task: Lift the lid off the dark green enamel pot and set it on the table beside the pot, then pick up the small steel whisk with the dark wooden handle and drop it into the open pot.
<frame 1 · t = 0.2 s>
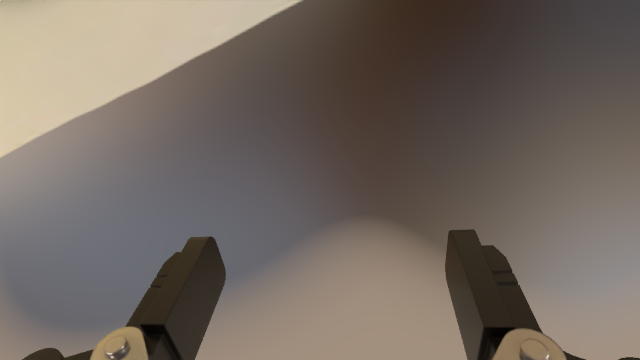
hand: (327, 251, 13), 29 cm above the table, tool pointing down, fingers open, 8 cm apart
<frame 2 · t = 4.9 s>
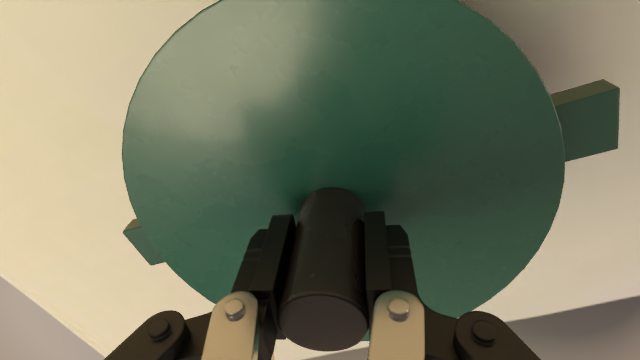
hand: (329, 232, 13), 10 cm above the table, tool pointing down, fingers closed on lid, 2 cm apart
pot: (340, 121, 22), on the table
lid: (333, 206, 15), point 9 cm above the table, touching gripper, pot
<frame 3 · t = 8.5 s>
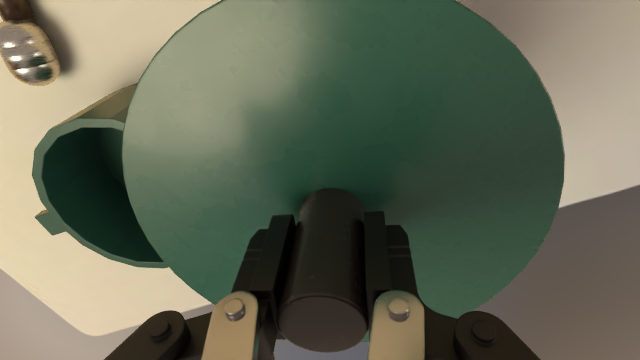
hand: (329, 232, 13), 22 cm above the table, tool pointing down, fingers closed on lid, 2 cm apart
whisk: (31, 22, 32), on the table
pot: (168, 156, 38), on the table
lid: (332, 207, 15), point 21 cm above the table, touching gripper
when the fingers open (2 cm above the table, at t = 12.4 s): lid stays where it is, point 1 cm above the table.
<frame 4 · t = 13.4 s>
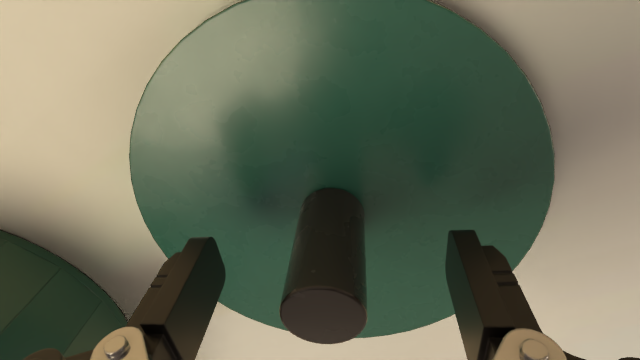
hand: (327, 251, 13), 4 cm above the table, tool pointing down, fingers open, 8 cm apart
pot: (9, 316, 23), on the table
lid: (332, 206, 15), point 1 cm above the table
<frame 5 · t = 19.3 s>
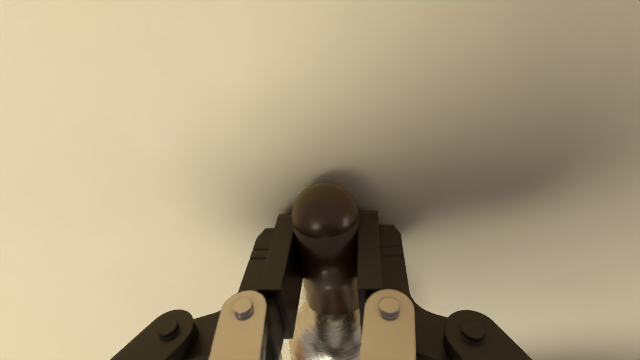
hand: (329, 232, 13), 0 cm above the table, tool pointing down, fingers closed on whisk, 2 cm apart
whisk: (337, 279, 15), on the table, touching gripper
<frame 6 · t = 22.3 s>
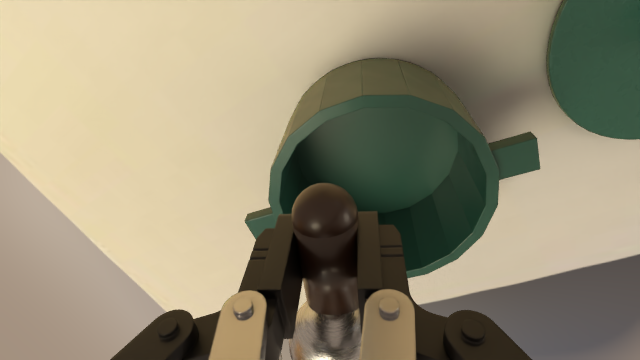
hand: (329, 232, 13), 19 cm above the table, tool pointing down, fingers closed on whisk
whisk: (337, 279, 15), point 19 cm above the table, touching gripper
pot: (374, 147, 32), on the table
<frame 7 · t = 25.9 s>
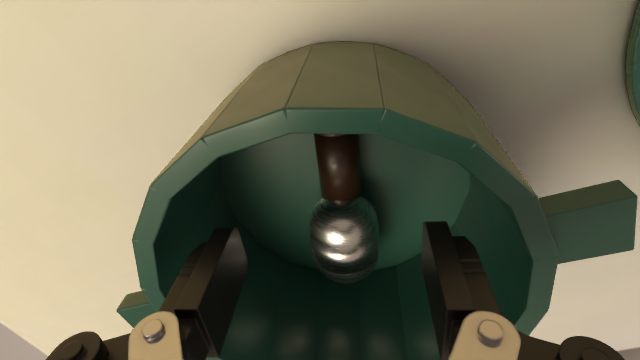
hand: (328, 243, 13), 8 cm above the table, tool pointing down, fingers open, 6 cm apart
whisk: (343, 186, 21), resting on pot
pot: (342, 181, 21), on the table
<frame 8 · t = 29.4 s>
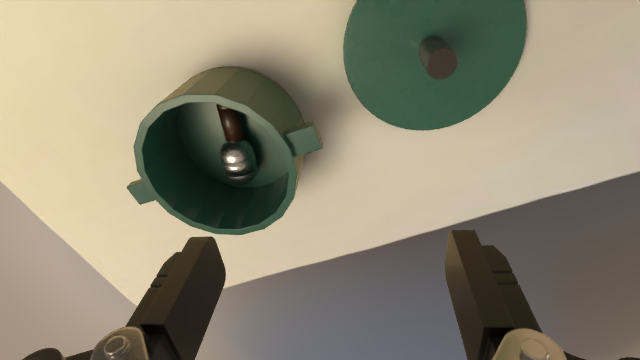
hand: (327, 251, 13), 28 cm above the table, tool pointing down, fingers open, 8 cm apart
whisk: (238, 136, 42), resting on pot
pot: (239, 134, 42), on the table
lid: (430, 48, 35), point 1 cm above the table
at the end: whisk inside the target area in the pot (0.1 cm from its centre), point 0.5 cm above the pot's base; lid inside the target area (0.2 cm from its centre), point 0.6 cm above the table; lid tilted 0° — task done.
